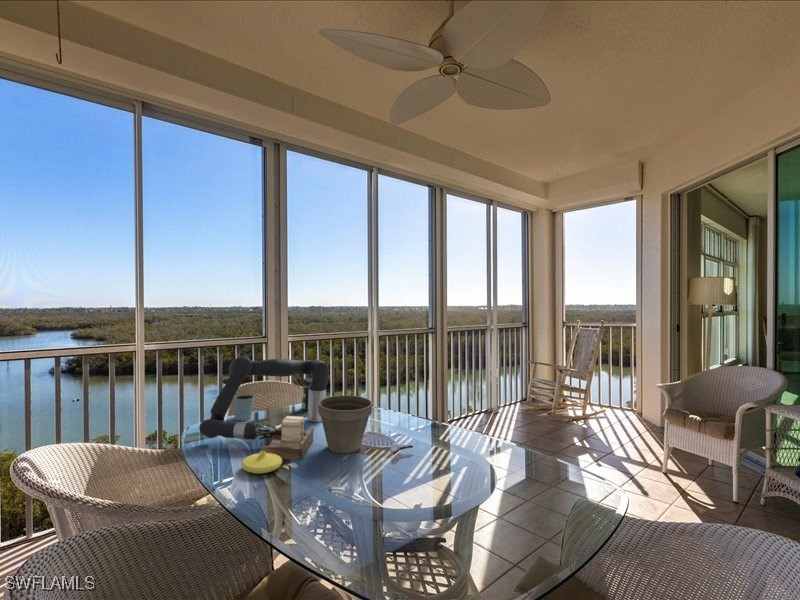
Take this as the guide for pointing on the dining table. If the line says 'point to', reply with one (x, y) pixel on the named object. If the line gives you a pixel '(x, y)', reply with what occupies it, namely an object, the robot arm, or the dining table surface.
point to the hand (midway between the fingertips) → (284, 432)
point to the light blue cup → (243, 407)
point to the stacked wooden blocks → (292, 431)
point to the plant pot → (344, 421)
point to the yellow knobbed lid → (261, 462)
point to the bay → (290, 451)
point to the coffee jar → (306, 393)
